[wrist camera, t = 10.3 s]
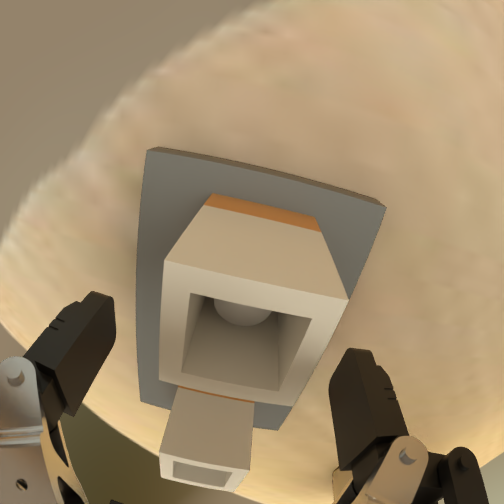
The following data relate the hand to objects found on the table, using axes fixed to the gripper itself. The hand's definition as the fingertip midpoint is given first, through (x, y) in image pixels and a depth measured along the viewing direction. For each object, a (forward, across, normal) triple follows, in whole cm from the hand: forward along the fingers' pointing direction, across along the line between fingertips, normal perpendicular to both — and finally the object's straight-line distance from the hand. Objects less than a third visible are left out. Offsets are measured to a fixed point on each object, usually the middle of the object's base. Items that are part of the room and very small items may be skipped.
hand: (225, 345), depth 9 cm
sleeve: (+6, 0, -1) cm, 6 cm away
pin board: (+8, 0, +6) cm, 10 cm away
